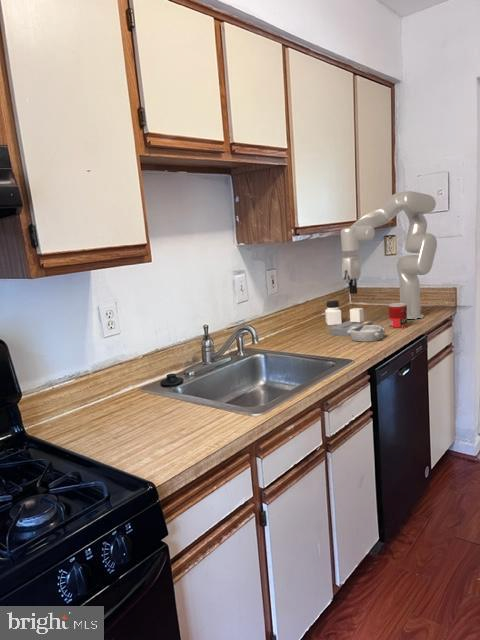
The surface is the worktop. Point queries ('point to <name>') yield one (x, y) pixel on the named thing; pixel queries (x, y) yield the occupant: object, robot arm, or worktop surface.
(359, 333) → the dish
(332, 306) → the medicine bottle
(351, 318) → the block
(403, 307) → the canned food
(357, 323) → the breaker panel
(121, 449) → the worktop surface
